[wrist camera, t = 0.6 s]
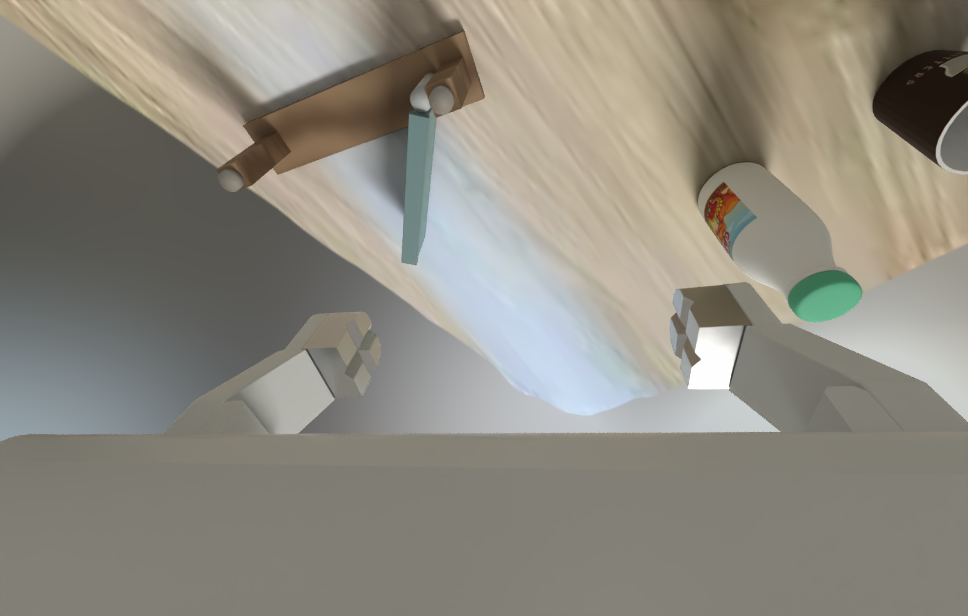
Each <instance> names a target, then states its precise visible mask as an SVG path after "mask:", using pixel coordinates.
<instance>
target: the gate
mask: <svg viewBox="0 0 968 616" xmlns="http://www.w3.org/2000/svg"><path fill="white" fill-rule="evenodd" d="M434 74H435V73H428V74H426V75H425V76H424V78H423V79H422V80H421V81H420V83H419V84H418V85H417V86H416V87H415V89H414V90H413V91H412V93H411V95H410V102H411V104H412V106H413V108H414V110H413V112H410V113H409V125H408V145H407V164H406V184H405V203H404V223H403V242H402V263H407V264H412V265H417V262H418V255H419V252H420V249H421V246H422V244H423V241H424V238H425V232H426V222H427V212H428V201H429V191H430V181H431V171H432V160H433V150H434V140H435V129H436V119H437V117H435V115H434V112H433V110H432V109H431V107H430V105H429V100H428V98H427V95H426V93H425V90H424V87H425V86H426V84H427V83H428V82H429V80H430V79H431V78H432V76H433V75H434Z"/></svg>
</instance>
